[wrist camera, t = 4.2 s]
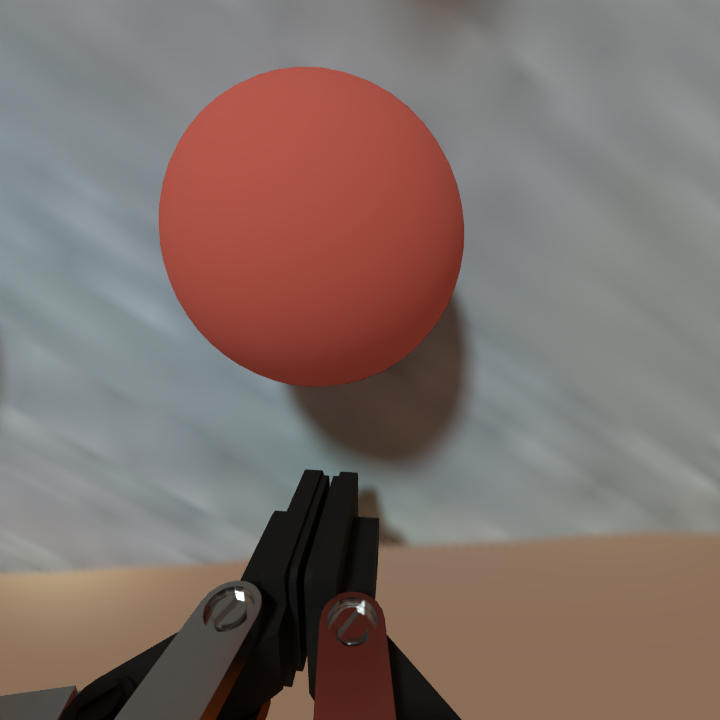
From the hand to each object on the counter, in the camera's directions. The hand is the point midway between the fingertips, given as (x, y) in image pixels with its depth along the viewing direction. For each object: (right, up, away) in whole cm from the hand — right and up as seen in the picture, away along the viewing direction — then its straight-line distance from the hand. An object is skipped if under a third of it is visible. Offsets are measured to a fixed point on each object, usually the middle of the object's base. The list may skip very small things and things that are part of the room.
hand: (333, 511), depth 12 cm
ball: (0, +7, -4) cm, 8 cm away
